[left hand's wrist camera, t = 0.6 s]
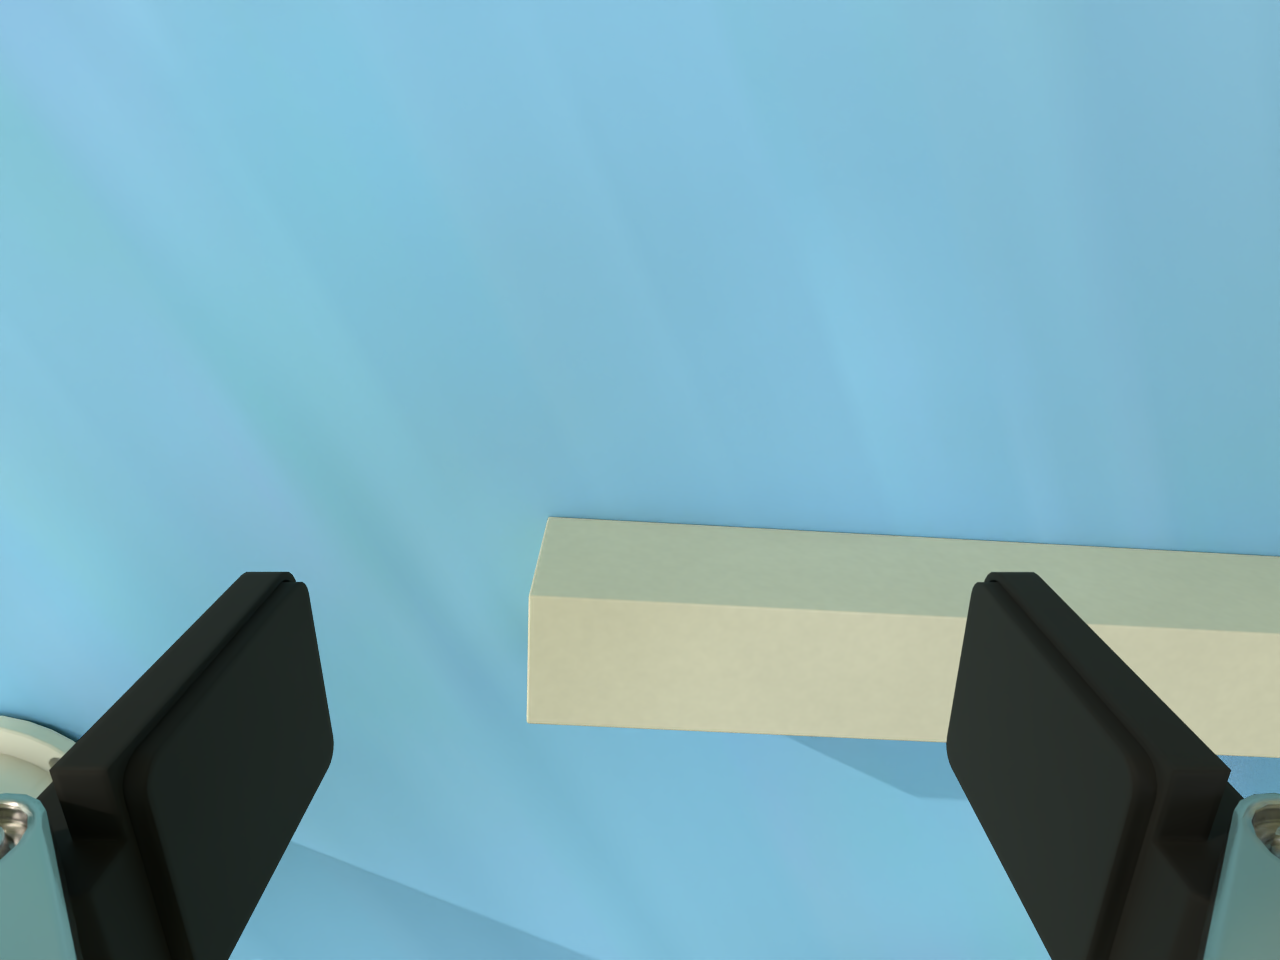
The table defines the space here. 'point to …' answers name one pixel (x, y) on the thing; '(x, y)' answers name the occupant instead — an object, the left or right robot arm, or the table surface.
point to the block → (870, 629)
